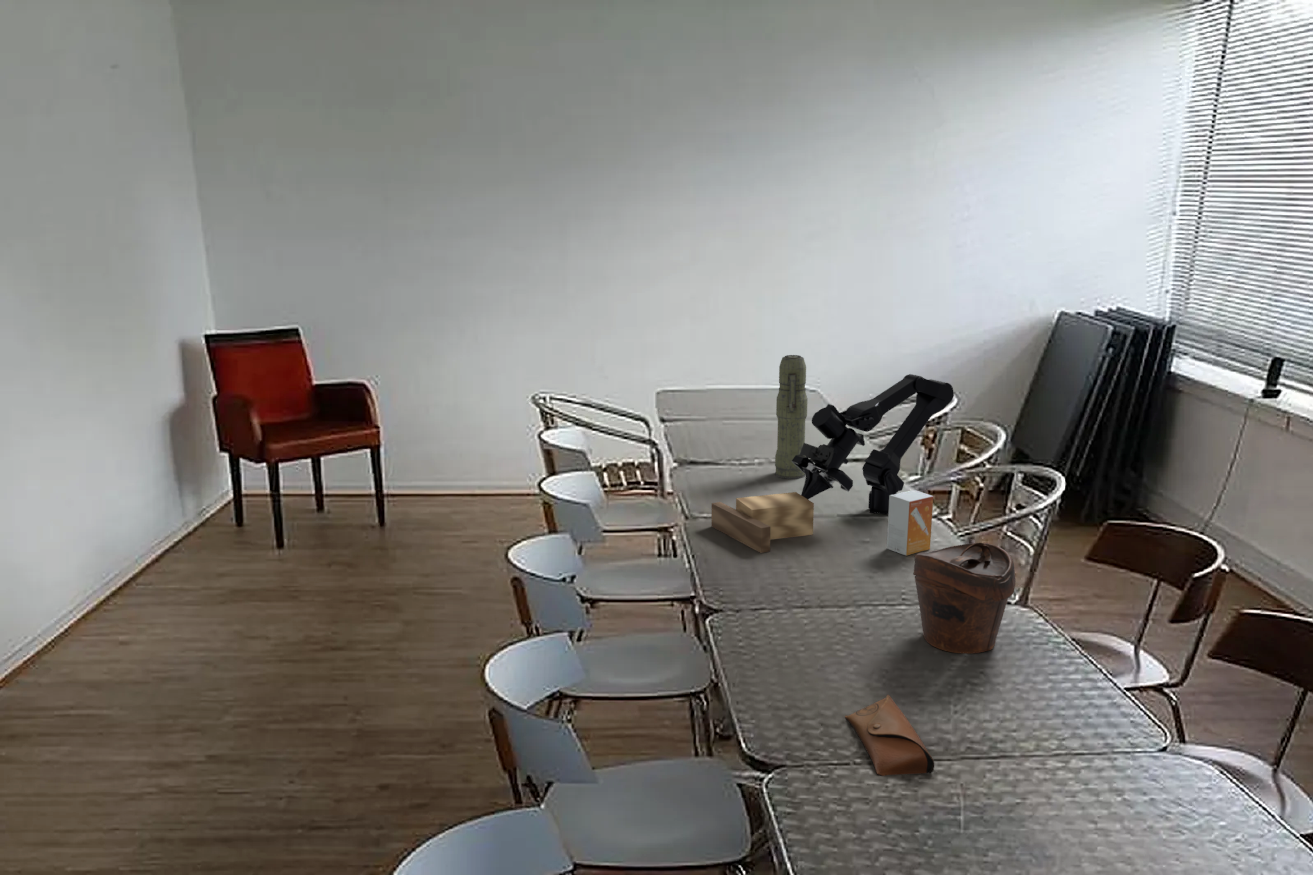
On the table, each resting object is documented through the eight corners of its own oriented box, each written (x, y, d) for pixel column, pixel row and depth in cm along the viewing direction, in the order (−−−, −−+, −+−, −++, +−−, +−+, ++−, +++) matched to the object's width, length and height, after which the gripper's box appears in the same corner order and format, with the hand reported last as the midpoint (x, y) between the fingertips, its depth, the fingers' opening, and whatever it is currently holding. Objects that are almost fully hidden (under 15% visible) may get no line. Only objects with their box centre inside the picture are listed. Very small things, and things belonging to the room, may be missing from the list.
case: (1008, 621, 194) (1014, 532, 190) (1015, 668, 176) (1021, 570, 171) (912, 613, 199) (915, 527, 195) (909, 658, 180) (912, 563, 176)
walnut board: (720, 524, 253) (720, 501, 251) (770, 551, 234) (770, 526, 232) (711, 526, 251) (711, 503, 250) (761, 553, 233) (761, 528, 231)
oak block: (795, 522, 254) (795, 491, 252) (812, 535, 245) (813, 503, 243) (735, 529, 250) (736, 498, 248) (751, 542, 240) (752, 509, 238)
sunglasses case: (840, 714, 160) (862, 679, 159) (876, 732, 162) (898, 698, 161) (877, 777, 143) (903, 739, 142) (917, 796, 145) (943, 759, 144)
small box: (906, 556, 230) (909, 501, 227) (885, 548, 235) (888, 494, 232) (931, 549, 234) (934, 495, 231) (910, 542, 239) (913, 489, 236)
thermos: (802, 469, 303) (805, 352, 294) (808, 480, 291) (811, 359, 283) (773, 469, 303) (775, 353, 295) (777, 480, 291) (779, 359, 283)
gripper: (797, 423, 256) (761, 472, 254) (843, 438, 239) (805, 491, 238) (822, 448, 261) (788, 496, 259) (869, 464, 245) (832, 517, 243)
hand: (802, 499), depth 250 cm, fingers closed, pressing on oak block
